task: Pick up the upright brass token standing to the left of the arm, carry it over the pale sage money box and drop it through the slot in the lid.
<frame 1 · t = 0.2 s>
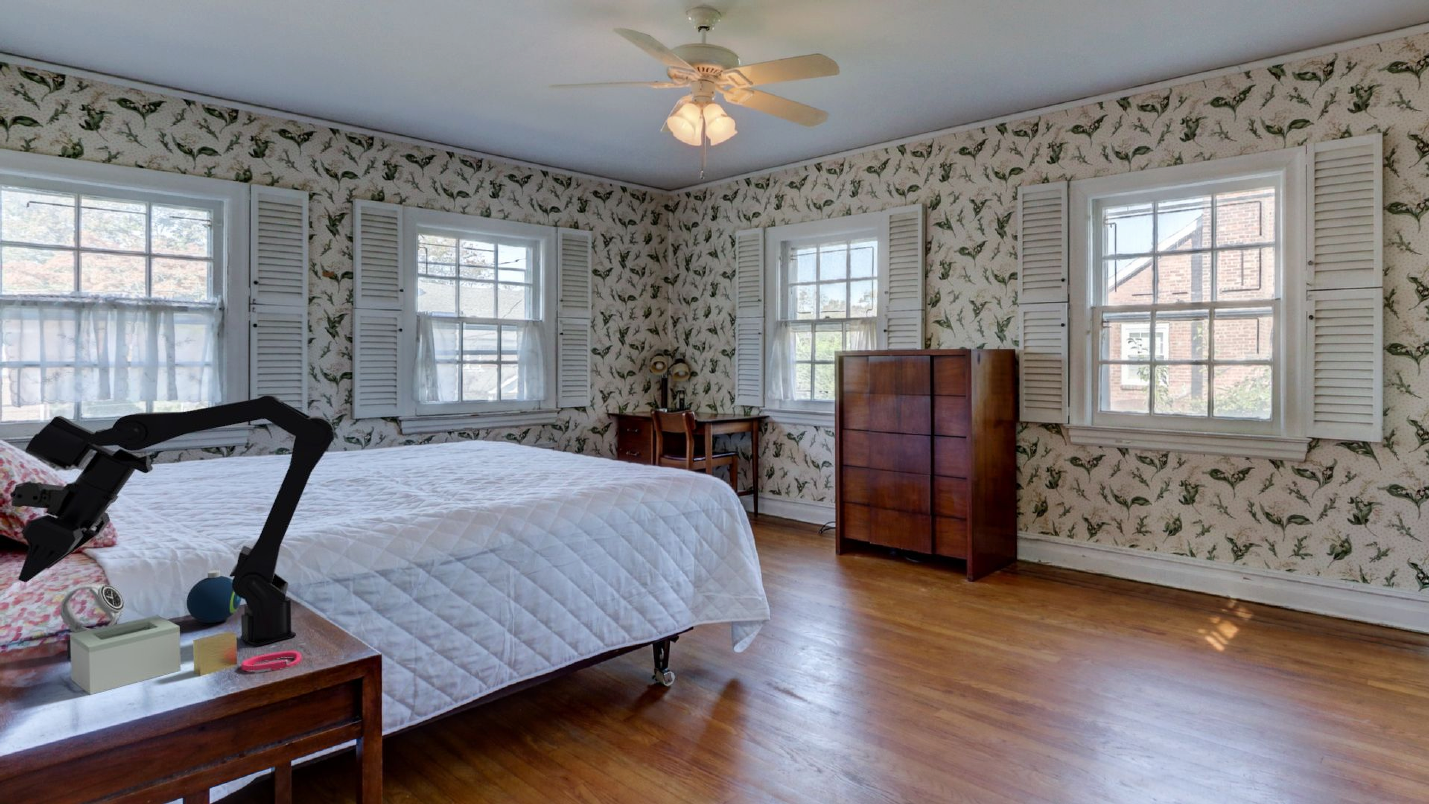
hand: (34, 573, 116), 15 cm above the table, tool tilted 30°, fingers open, 9 cm apart
watch: (93, 652, 124), on the table
token: (215, 669, 117), on the table
fitness band: (272, 667, 118), on the table
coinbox: (126, 674, 114), on the table
christmas ornament: (215, 622, 139), on the table
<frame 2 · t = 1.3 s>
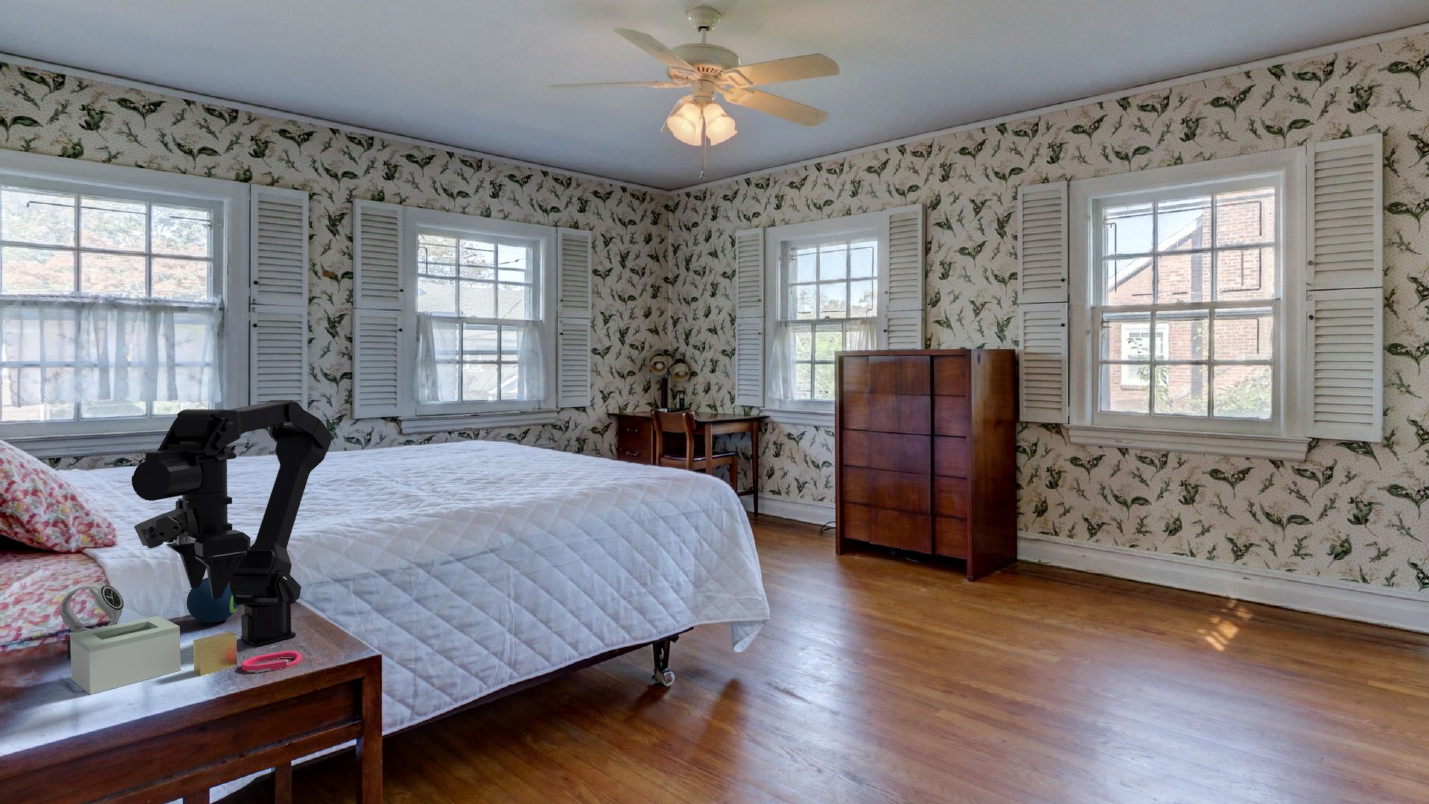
hand: (205, 593, 116), 12 cm above the table, tool pointing down, fingers open, 9 cm apart
nothing on the table moved.
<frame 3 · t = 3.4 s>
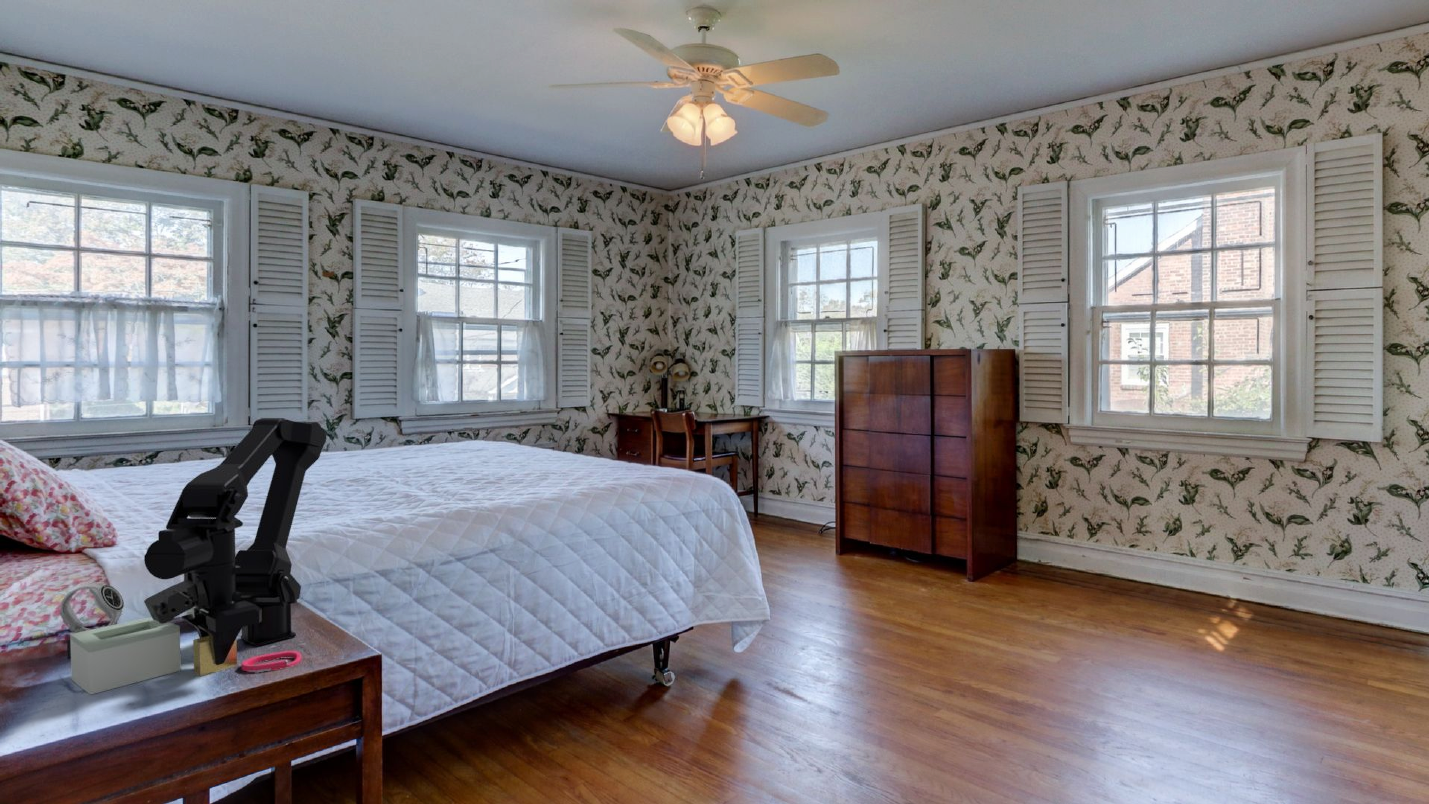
hand: (215, 662, 117), 1 cm above the table, tool pointing down, fingers closed on token, 2 cm apart
token: (215, 668, 117), on the table, touching gripper
everything else where it was.
when the fingers open (8 cm above the table, at t = 5.9 s): token drops 7 cm, resting on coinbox.
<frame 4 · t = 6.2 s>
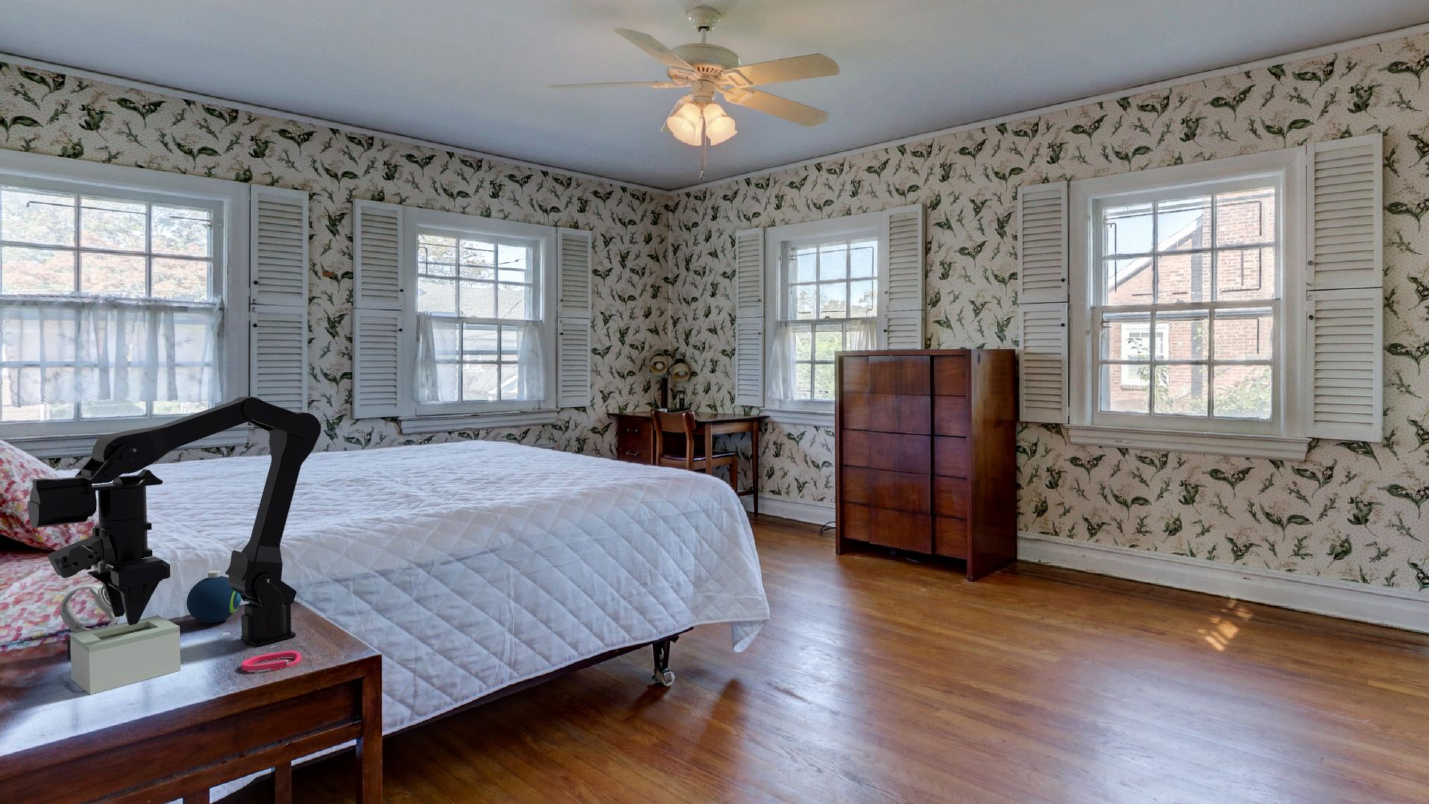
hand: (125, 620, 114), 8 cm above the table, tool pointing down, fingers open, 6 cm apart
token: (126, 670, 114), point 1 cm above the table, touching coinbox
everything else where it was.
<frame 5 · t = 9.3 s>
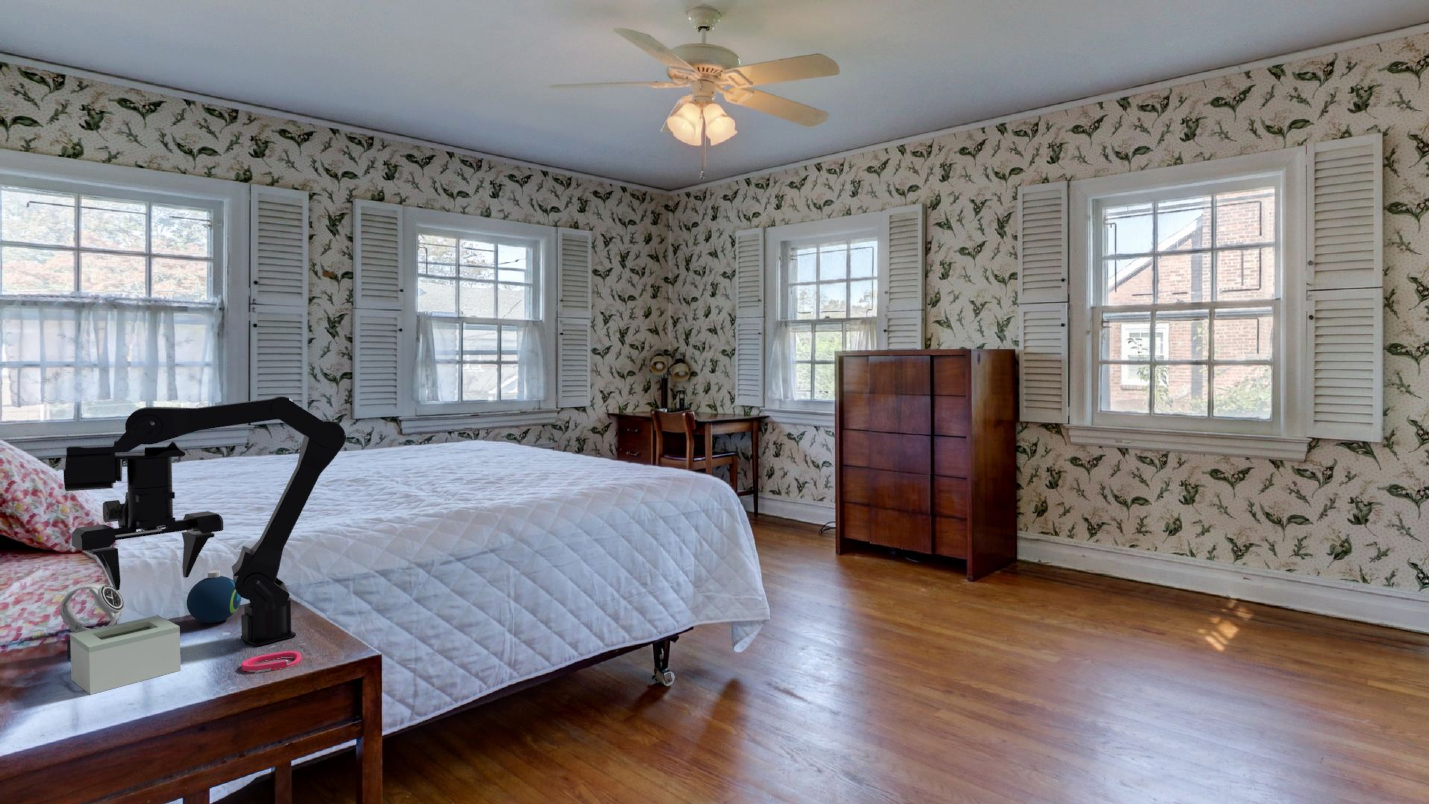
hand: (152, 583, 121), 12 cm above the table, tool pointing down, fingers open, 9 cm apart
nothing on the table moved.
at the end: token inside the target area on the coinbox (0.1 cm from its centre), point 0.6 cm above the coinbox's base; the gripper is holding nothing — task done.
